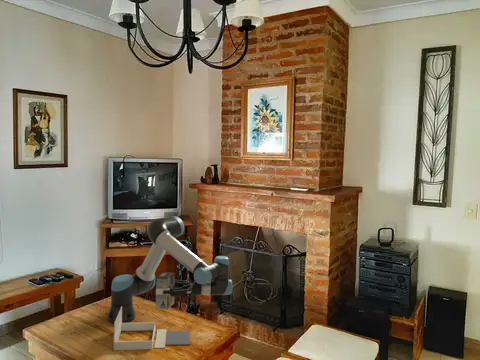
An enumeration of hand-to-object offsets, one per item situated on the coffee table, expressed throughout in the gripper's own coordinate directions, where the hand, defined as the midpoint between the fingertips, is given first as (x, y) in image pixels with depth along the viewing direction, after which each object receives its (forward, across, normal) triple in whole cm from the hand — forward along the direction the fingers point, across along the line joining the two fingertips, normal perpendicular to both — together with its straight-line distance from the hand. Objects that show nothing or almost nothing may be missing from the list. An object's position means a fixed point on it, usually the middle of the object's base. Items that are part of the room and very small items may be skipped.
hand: (157, 287), depth 186 cm
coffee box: (-4, 0, -10) cm, 11 cm away
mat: (-11, +2, -27) cm, 29 cm away
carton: (+7, +1, -27) cm, 28 cm away
